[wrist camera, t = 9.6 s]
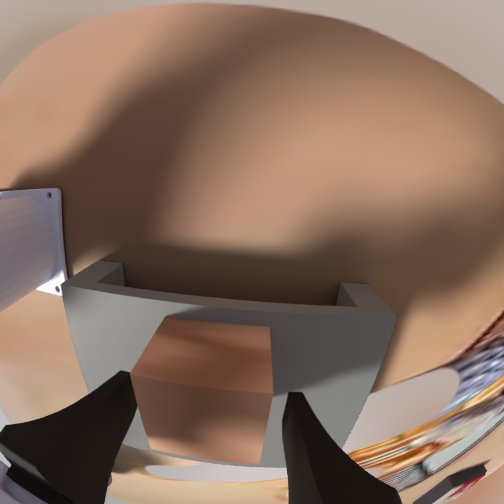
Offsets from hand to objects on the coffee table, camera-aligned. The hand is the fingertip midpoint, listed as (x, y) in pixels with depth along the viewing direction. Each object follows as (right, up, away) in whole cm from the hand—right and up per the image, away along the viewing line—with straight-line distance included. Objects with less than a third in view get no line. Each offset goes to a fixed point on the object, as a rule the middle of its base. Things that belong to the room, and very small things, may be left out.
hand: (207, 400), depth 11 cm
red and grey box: (+44, -42, +18) cm, 63 cm away
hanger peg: (0, +2, +5) cm, 5 cm away
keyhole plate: (0, -1, +8) cm, 8 cm away
